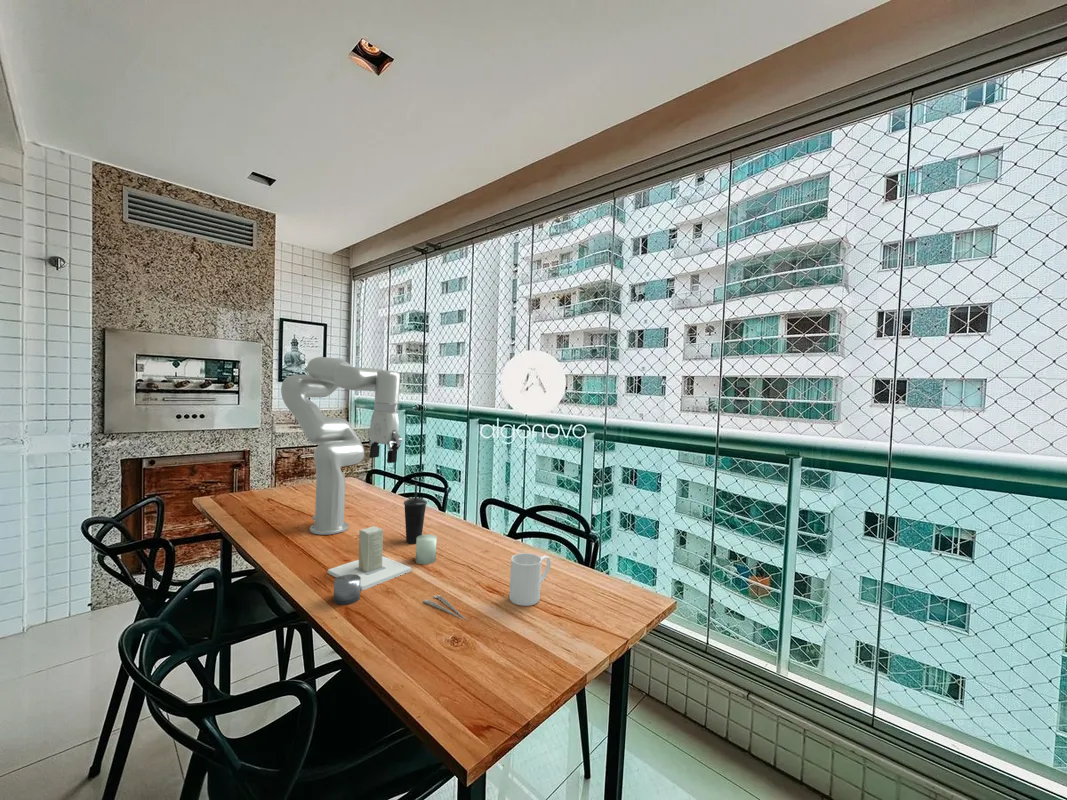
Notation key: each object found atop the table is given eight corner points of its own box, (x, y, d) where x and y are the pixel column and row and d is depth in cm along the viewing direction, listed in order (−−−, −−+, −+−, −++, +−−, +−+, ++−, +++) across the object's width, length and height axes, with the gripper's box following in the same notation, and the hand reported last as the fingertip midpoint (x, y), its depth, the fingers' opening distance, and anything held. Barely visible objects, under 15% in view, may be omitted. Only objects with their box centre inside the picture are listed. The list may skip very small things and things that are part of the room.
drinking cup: (428, 538, 155) (430, 481, 154) (420, 546, 148) (423, 486, 147) (407, 536, 156) (409, 480, 155) (398, 544, 148) (400, 485, 148)
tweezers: (421, 604, 111) (422, 596, 111) (437, 598, 115) (438, 590, 114) (467, 637, 100) (468, 629, 99) (482, 630, 103) (483, 621, 103)
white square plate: (327, 573, 124) (327, 569, 124) (377, 556, 137) (377, 553, 137) (362, 590, 115) (362, 586, 115) (411, 571, 128) (411, 567, 128)
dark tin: (328, 599, 110) (329, 579, 110) (350, 591, 115) (351, 572, 115) (342, 607, 106) (343, 587, 106) (364, 598, 111) (365, 579, 111)
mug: (522, 609, 110) (524, 567, 109) (503, 597, 116) (505, 557, 115) (558, 596, 118) (560, 557, 117) (538, 585, 124) (540, 547, 123)
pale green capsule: (411, 560, 136) (412, 538, 136) (426, 555, 141) (427, 533, 141) (424, 566, 132) (425, 542, 132) (439, 560, 137) (440, 537, 137)
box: (373, 563, 130) (375, 525, 129) (382, 567, 127) (384, 528, 127) (357, 568, 126) (358, 529, 125) (366, 572, 123) (367, 533, 123)
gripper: (361, 405, 148) (357, 456, 149) (392, 411, 138) (388, 466, 139) (380, 405, 154) (377, 454, 155) (412, 411, 144) (408, 463, 145)
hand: (382, 459), depth 147 cm, fingers open, 9 cm apart
